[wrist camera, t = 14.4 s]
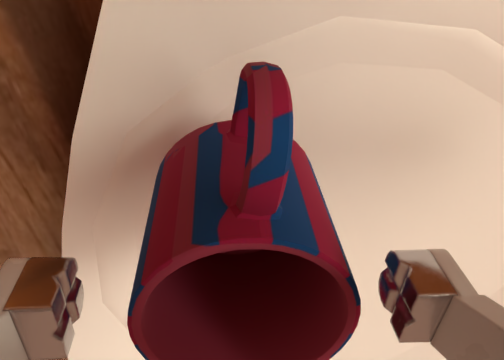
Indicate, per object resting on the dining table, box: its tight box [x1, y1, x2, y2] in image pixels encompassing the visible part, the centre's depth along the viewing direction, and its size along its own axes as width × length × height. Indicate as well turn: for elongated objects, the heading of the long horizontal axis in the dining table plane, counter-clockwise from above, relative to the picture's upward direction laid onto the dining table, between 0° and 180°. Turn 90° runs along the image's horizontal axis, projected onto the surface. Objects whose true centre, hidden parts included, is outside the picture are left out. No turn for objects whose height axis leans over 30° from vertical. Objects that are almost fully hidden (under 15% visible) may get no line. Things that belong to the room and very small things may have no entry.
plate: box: [62, 0, 504, 360], centre depth 22 cm, size 29×29×3 cm
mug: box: [127, 62, 361, 360], centre depth 14 cm, size 7×10×7 cm
